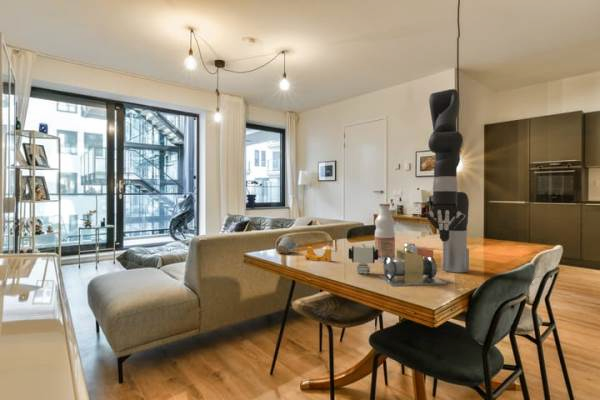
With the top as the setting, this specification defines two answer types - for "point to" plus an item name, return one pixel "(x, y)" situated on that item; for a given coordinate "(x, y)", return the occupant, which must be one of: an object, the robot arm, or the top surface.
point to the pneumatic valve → (363, 257)
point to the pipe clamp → (314, 257)
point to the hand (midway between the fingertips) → (444, 241)
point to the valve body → (410, 270)
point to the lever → (418, 250)
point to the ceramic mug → (286, 245)
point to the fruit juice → (384, 234)
